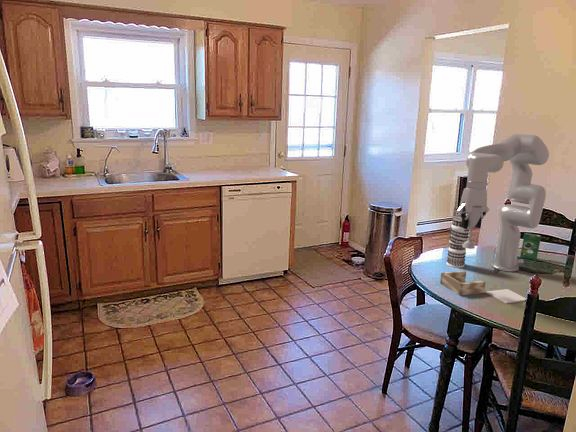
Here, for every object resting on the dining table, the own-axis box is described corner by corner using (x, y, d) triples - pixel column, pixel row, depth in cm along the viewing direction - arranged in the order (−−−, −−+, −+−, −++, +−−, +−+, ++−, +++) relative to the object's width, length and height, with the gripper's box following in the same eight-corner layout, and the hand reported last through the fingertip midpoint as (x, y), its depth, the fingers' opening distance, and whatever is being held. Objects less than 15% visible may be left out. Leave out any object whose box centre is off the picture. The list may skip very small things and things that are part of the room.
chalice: (456, 244, 194) (461, 203, 189) (472, 244, 194) (477, 203, 190) (464, 249, 187) (470, 207, 182) (480, 249, 187) (486, 207, 183)
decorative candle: (460, 261, 228) (466, 214, 222) (468, 268, 219) (474, 218, 213) (442, 261, 228) (448, 213, 222) (449, 267, 219) (455, 218, 213)
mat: (507, 290, 194) (507, 288, 193) (527, 300, 183) (527, 299, 183) (486, 292, 190) (486, 291, 190) (505, 303, 180) (506, 302, 180)
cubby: (463, 280, 203) (464, 270, 201) (484, 292, 190) (485, 281, 189) (440, 283, 199) (441, 272, 198) (459, 295, 187) (461, 284, 185)
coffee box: (537, 258, 236) (541, 234, 233) (537, 260, 234) (541, 236, 231) (520, 255, 240) (524, 232, 237) (519, 257, 238) (523, 233, 235)
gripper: (487, 183, 190) (481, 224, 194) (452, 184, 185) (447, 226, 189) (500, 186, 183) (494, 229, 188) (464, 187, 178) (459, 231, 182)
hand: (470, 227), depth 188 cm, fingers closed on chalice, 5 cm apart
